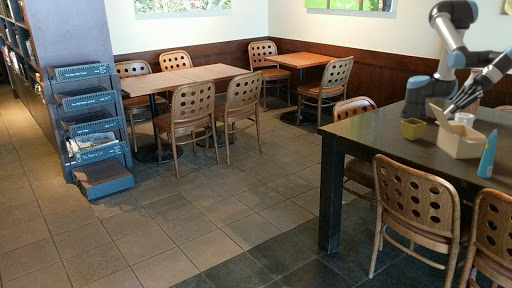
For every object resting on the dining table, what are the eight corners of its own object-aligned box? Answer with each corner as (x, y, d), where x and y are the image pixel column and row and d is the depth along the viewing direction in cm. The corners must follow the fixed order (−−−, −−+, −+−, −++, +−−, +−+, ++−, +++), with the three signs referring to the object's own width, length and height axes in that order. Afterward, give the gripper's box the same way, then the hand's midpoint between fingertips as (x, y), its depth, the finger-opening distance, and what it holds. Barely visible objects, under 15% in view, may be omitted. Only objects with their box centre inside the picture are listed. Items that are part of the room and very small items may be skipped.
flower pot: (411, 142, 185) (414, 125, 181) (398, 137, 192) (400, 120, 188) (424, 139, 188) (427, 122, 185) (410, 134, 196) (412, 117, 192)
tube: (479, 170, 155) (489, 127, 148) (492, 174, 152) (503, 129, 145) (474, 177, 150) (485, 132, 143) (488, 181, 147) (499, 135, 140)
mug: (451, 129, 201) (455, 112, 197) (469, 131, 197) (473, 113, 194) (453, 137, 190) (456, 118, 187) (472, 139, 187) (476, 120, 184)
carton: (430, 140, 187) (433, 121, 183) (453, 139, 187) (457, 120, 184) (463, 165, 161) (467, 142, 157) (489, 163, 161) (495, 141, 157)
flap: (441, 127, 174) (429, 103, 169) (442, 126, 174) (430, 103, 169) (453, 135, 165) (440, 110, 160) (454, 134, 165) (442, 109, 160)
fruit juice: (460, 120, 213) (469, 71, 203) (455, 115, 222) (464, 68, 211) (478, 121, 212) (489, 71, 201) (472, 116, 220) (482, 68, 210)
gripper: (472, 69, 166) (430, 107, 172) (492, 75, 154) (446, 116, 160) (481, 80, 169) (440, 118, 174) (501, 87, 157) (456, 127, 162)
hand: (443, 117), depth 167 cm, fingers closed
